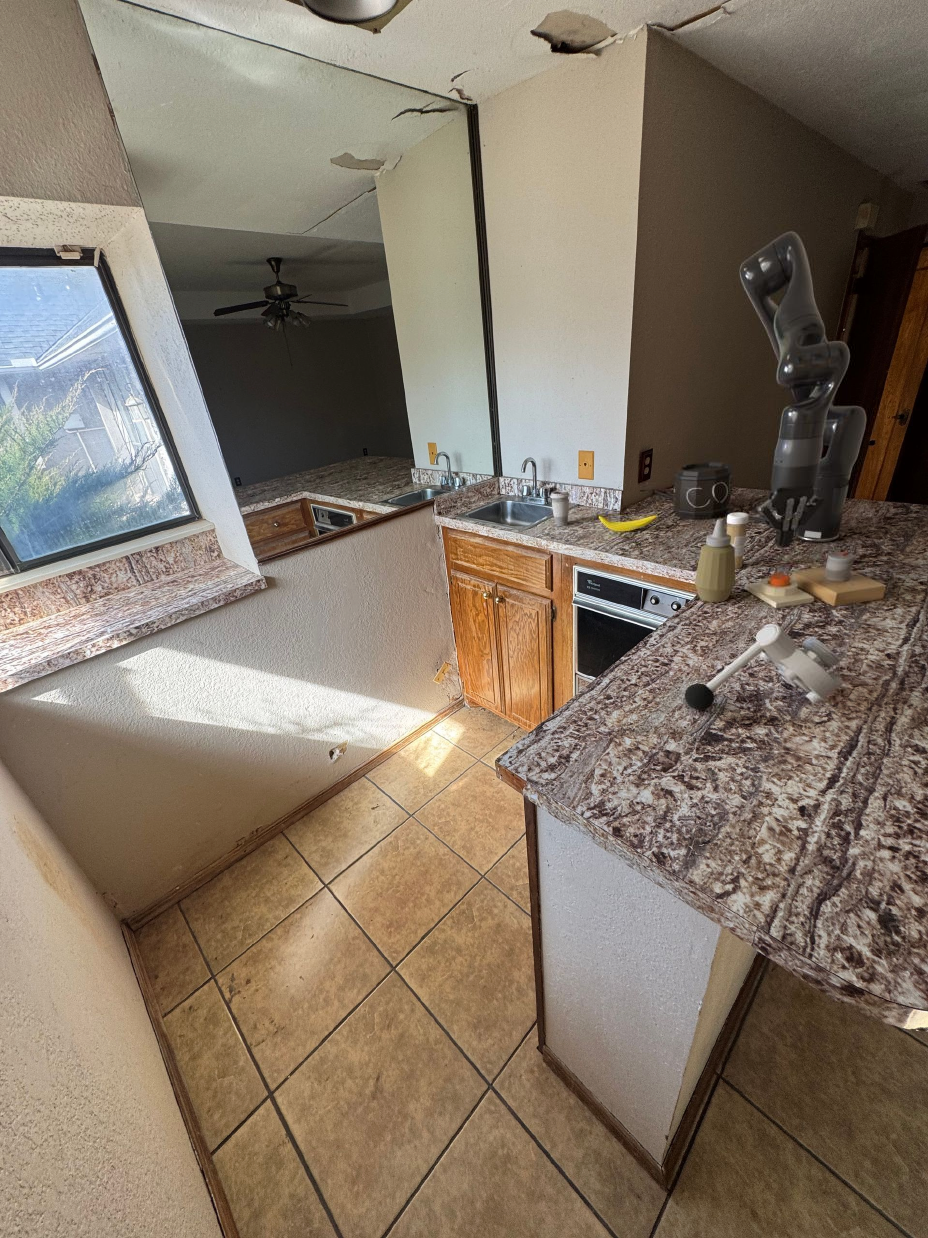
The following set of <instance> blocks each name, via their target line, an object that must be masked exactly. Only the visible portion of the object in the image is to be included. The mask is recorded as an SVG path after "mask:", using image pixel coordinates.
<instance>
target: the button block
mask: <svg viewBox="0 0 928 1238" xmlns="http://www.w3.org/2000/svg"><path fill="white" fill-rule="evenodd" d="M769 582H770V577H766V578H763V579H762V580H761V581H757V582H750V583H746V584H744V589H745V590H746V591H747V592H749V593H751V594H752V595H754V596H755V597H757V598H759V599H760V600H762V601H763V602H765V603H767V604H768V605H770V606H772V607H774V608H775V609H777V608H778V609H779V608H785V607H790V606H796V605H797V606H798V605H804V604H810V603H814V601H815V596H814V595H812V594H810V593H808V592H806V591H804V590H802V589H800V588H799V587H797V586H798V585H797V582H796V581H794V580H792V579H791V578H790V582H789V586H785V587H777V586H772V585H770V584H769Z"/></svg>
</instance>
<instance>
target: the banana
mask: <svg viewBox="0 0 928 1238" xmlns="http://www.w3.org/2000/svg"><path fill="white" fill-rule="evenodd" d="M596 517H598V519H599V520H600V521H601V523H602V524H603V525H604V526H605V527H606V528H607V529H609V530H611V531H614V532H618V533H619V532H620V533H621V532H622V533H624V532H630V531H633V530H634V531H635V530H637V529H640V528H641V529H642V528H644V527H645V526H648V525H650V524H651V523H652V522H653V521H655V519H657V517H658V515H651V516H646V517H643V518H640V519H636V520H628V521H612V520H609V519H608V518H606V517H604V516H601V515H599V514H598V513H597V514H596Z"/></svg>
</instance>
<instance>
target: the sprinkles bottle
mask: <svg viewBox="0 0 928 1238" xmlns="http://www.w3.org/2000/svg"><path fill="white" fill-rule="evenodd" d="M730 513H731V514H728V515H726V525H727V526H726V534H728V535H730V536H731V543H730V544H731V545H732V546H733V547H734V548H735V569H741V568H742V567H743V565H744V564H743V558H744V554H745V546H746V538H747V528H748V523H749V519H748V518H749V516H750V515H749V514H748V513H746V512H740V511H739V512H730Z"/></svg>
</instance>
